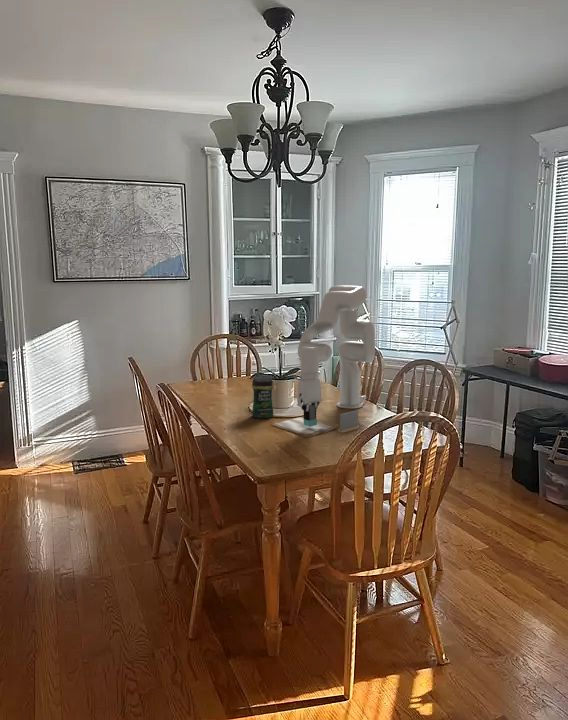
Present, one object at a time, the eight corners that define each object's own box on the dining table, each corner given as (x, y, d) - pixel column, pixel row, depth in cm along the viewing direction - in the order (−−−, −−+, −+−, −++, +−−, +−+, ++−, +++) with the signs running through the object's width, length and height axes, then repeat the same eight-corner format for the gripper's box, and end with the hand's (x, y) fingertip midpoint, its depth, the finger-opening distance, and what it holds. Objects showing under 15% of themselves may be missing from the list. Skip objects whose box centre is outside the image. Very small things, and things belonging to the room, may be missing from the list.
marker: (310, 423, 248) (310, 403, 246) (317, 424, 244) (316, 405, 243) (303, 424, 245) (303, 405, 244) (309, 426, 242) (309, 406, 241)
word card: (354, 426, 250) (354, 409, 249) (359, 428, 248) (359, 410, 246) (337, 431, 244) (337, 413, 242) (342, 432, 241) (343, 415, 240)
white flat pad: (301, 418, 264) (301, 414, 264) (337, 429, 246) (337, 425, 246) (271, 425, 253) (271, 421, 253) (306, 437, 236) (306, 433, 235)
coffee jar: (253, 419, 262) (252, 379, 259) (251, 414, 270) (250, 375, 267) (274, 418, 264) (274, 378, 260) (272, 413, 272) (271, 374, 268)
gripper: (318, 371, 249) (318, 413, 252) (288, 377, 239) (289, 420, 242) (330, 374, 243) (330, 417, 247) (300, 380, 233) (301, 424, 237)
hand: (309, 418), depth 244 cm, fingers closed on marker, 3 cm apart
